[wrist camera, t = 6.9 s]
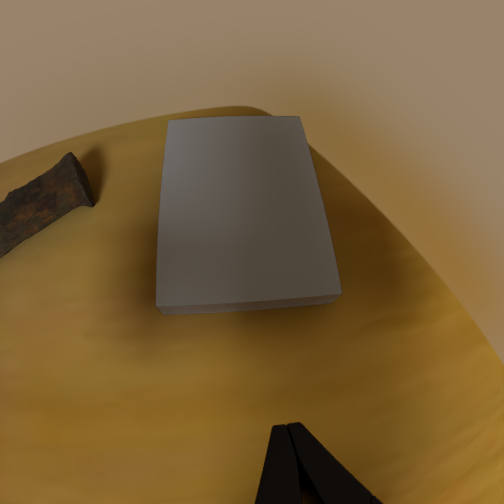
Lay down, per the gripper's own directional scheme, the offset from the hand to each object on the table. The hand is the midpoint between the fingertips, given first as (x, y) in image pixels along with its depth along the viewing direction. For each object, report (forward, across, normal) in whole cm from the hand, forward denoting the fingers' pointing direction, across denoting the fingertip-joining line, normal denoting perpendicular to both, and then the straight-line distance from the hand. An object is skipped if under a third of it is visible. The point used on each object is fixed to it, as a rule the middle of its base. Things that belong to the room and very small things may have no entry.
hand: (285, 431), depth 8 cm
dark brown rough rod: (+13, +19, -2) cm, 23 cm away
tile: (+9, 0, +1) cm, 9 cm away
